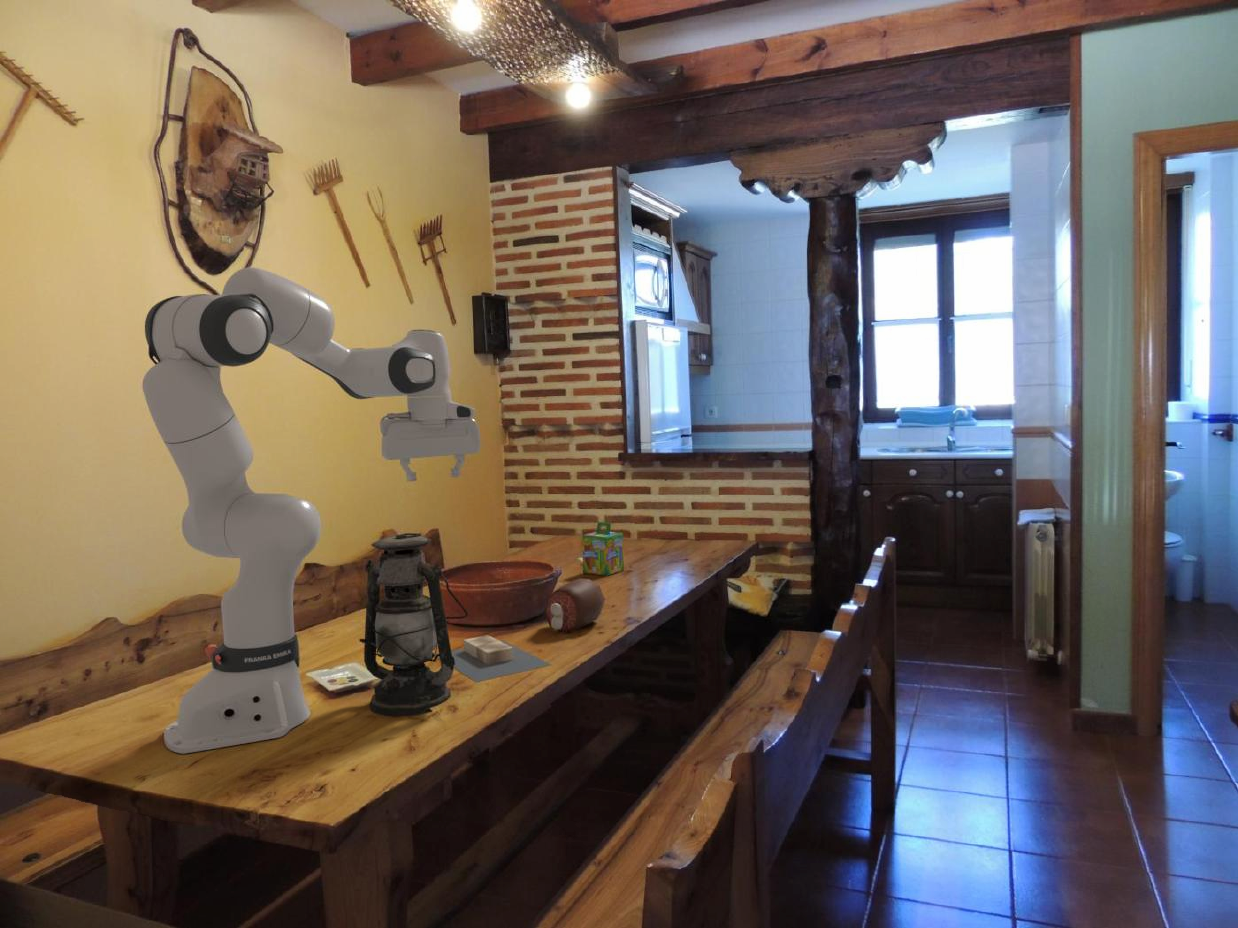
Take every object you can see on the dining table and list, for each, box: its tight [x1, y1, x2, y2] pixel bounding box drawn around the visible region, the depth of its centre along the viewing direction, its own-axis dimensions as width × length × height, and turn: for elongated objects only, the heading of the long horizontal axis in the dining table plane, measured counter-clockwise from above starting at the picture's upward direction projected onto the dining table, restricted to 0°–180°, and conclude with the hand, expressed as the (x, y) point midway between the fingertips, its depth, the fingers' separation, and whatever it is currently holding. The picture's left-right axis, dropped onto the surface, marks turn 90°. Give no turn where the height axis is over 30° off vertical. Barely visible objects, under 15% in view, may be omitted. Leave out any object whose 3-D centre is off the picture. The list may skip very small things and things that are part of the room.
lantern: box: [358, 532, 469, 718], centre depth 157 cm, size 19×19×30 cm
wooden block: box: [463, 634, 513, 665], centre depth 180 cm, size 6×2×12 cm
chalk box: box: [581, 521, 625, 577], centre depth 261 cm, size 9×9×15 cm
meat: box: [543, 578, 606, 634], centre depth 202 cm, size 20×12×10 cm, turn 156°
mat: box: [435, 639, 552, 683], centre depth 177 cm, size 16×22×1 cm
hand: (434, 479), depth 179 cm, fingers open, 8 cm apart
